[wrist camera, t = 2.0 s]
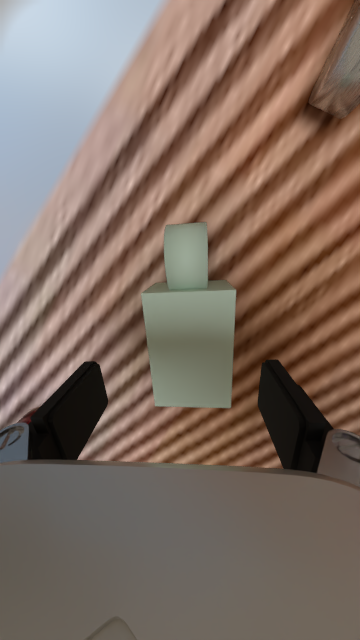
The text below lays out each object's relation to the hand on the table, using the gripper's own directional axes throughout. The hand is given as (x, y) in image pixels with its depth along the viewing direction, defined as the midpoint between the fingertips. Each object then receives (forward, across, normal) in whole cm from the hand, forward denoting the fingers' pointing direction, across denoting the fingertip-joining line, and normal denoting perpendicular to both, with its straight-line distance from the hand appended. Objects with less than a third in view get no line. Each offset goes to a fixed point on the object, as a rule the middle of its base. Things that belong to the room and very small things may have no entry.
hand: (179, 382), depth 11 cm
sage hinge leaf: (+9, -1, -2) cm, 9 cm away
